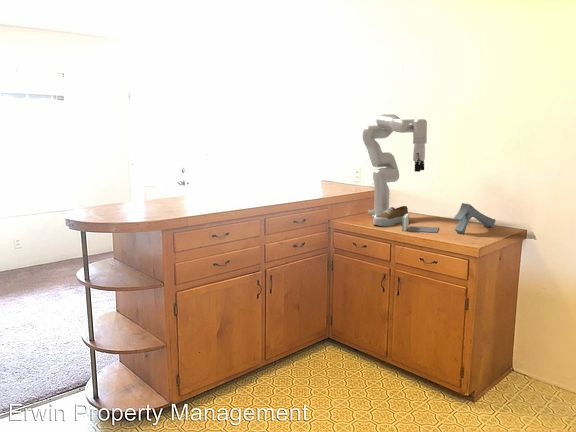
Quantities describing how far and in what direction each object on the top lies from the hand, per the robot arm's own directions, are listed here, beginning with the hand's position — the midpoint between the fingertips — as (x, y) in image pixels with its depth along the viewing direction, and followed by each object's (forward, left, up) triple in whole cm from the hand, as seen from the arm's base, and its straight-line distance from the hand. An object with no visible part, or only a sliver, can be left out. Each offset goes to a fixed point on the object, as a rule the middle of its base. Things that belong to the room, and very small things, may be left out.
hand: (419, 170), depth 285 cm
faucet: (+31, -4, -33) cm, 46 cm away
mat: (+4, -10, -33) cm, 34 cm away
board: (-6, -11, -33) cm, 35 cm away
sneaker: (-17, +4, -33) cm, 37 cm away
